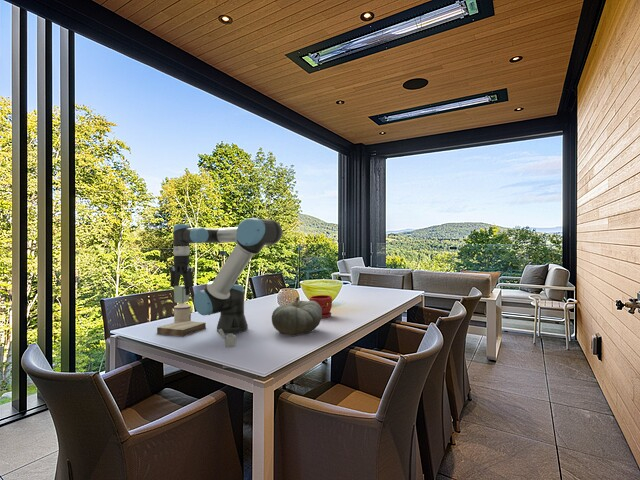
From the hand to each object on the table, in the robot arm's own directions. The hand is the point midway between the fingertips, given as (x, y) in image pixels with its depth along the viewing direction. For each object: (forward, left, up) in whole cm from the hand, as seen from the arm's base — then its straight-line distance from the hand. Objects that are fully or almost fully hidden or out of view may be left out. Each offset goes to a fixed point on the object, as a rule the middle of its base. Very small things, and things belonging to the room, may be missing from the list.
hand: (181, 301), depth 173 cm
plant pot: (-54, -54, -15) cm, 78 cm away
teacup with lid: (+15, -16, -15) cm, 27 cm away
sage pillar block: (0, 0, 0) cm, 0 cm away
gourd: (-56, -16, -15) cm, 60 cm away
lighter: (-38, +15, -15) cm, 44 cm away
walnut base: (0, 0, -15) cm, 15 cm away
